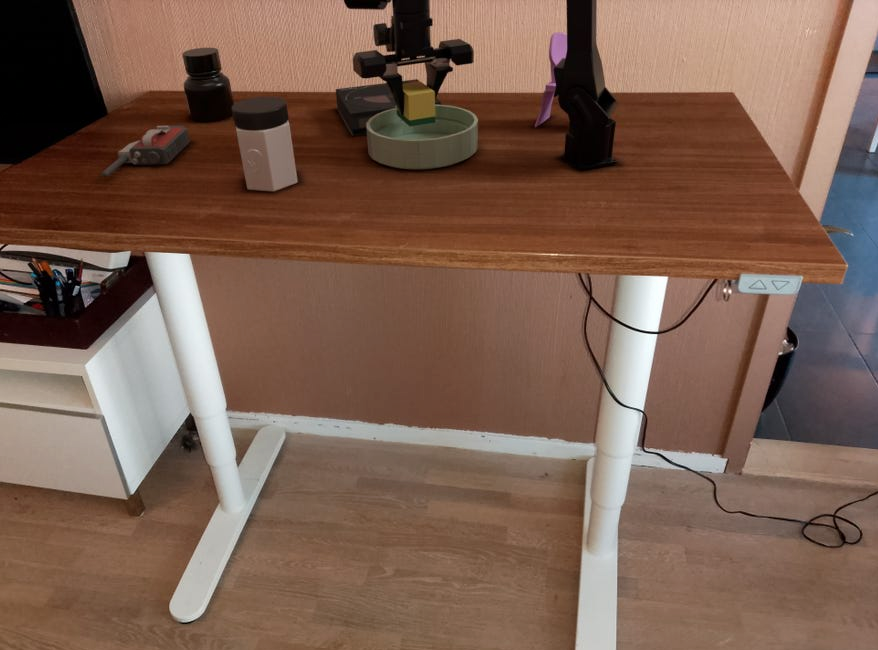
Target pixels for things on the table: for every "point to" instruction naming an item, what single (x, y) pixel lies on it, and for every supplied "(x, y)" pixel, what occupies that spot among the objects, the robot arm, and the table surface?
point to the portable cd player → (365, 104)
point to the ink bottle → (206, 85)
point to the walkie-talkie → (153, 148)
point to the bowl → (423, 139)
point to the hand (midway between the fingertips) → (415, 112)
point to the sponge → (418, 104)
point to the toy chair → (552, 73)
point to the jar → (265, 143)
